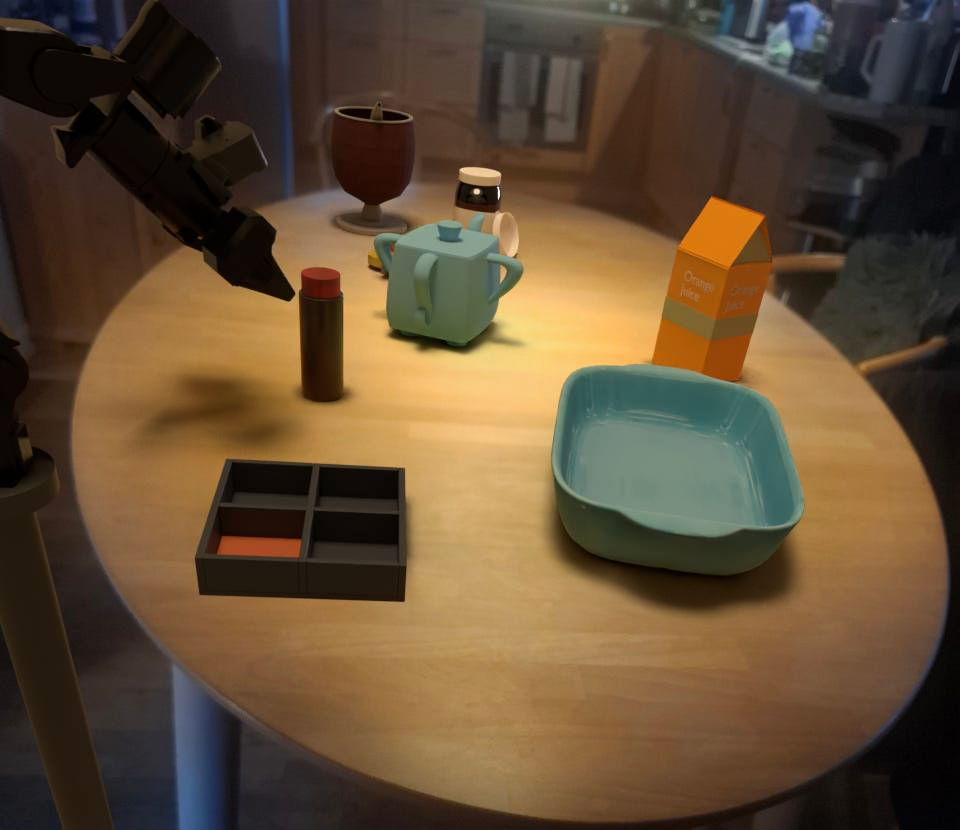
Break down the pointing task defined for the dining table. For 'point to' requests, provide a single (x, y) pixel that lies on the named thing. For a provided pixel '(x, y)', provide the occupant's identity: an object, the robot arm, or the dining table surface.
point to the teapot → (445, 279)
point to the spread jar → (485, 206)
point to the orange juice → (715, 292)
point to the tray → (305, 532)
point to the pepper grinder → (321, 334)
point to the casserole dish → (673, 469)
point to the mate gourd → (372, 163)
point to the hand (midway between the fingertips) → (272, 282)
